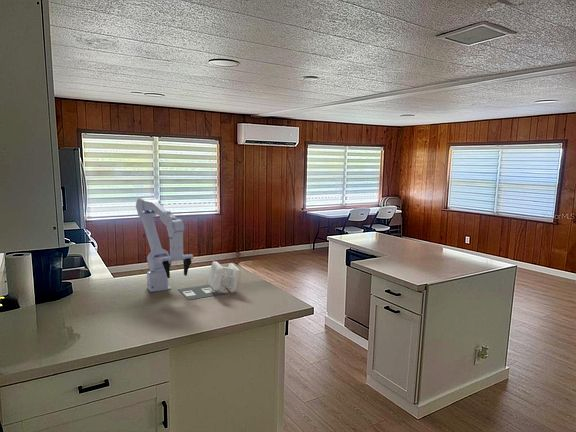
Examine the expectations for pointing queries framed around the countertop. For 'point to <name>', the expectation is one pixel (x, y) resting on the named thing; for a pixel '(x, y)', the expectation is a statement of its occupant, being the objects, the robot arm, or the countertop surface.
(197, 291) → the label mat
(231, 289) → the cable organizer
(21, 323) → the countertop surface
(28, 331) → the countertop surface
